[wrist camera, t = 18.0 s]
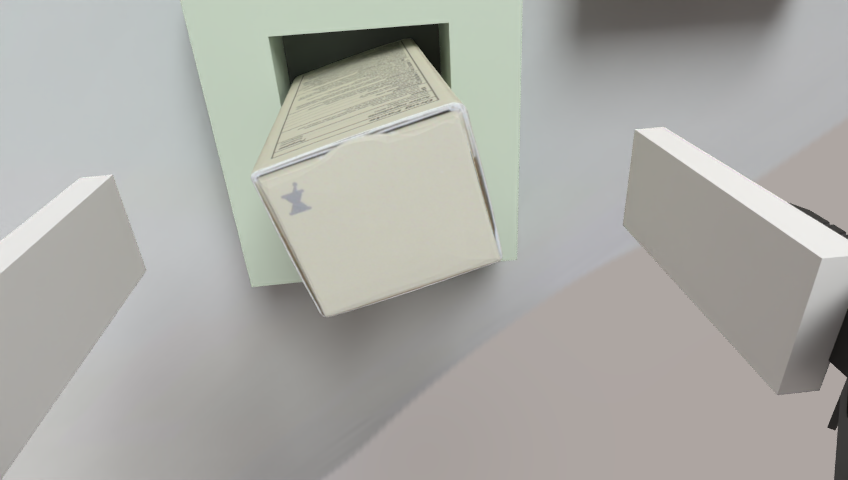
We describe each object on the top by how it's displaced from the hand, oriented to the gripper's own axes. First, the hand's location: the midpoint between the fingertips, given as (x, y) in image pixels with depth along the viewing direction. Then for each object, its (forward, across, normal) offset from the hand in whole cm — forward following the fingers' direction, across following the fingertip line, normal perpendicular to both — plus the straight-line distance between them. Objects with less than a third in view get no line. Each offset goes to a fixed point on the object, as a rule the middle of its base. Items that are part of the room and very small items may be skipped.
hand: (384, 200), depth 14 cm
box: (+10, 0, 0) cm, 10 cm away
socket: (+9, 0, 0) cm, 9 cm away
